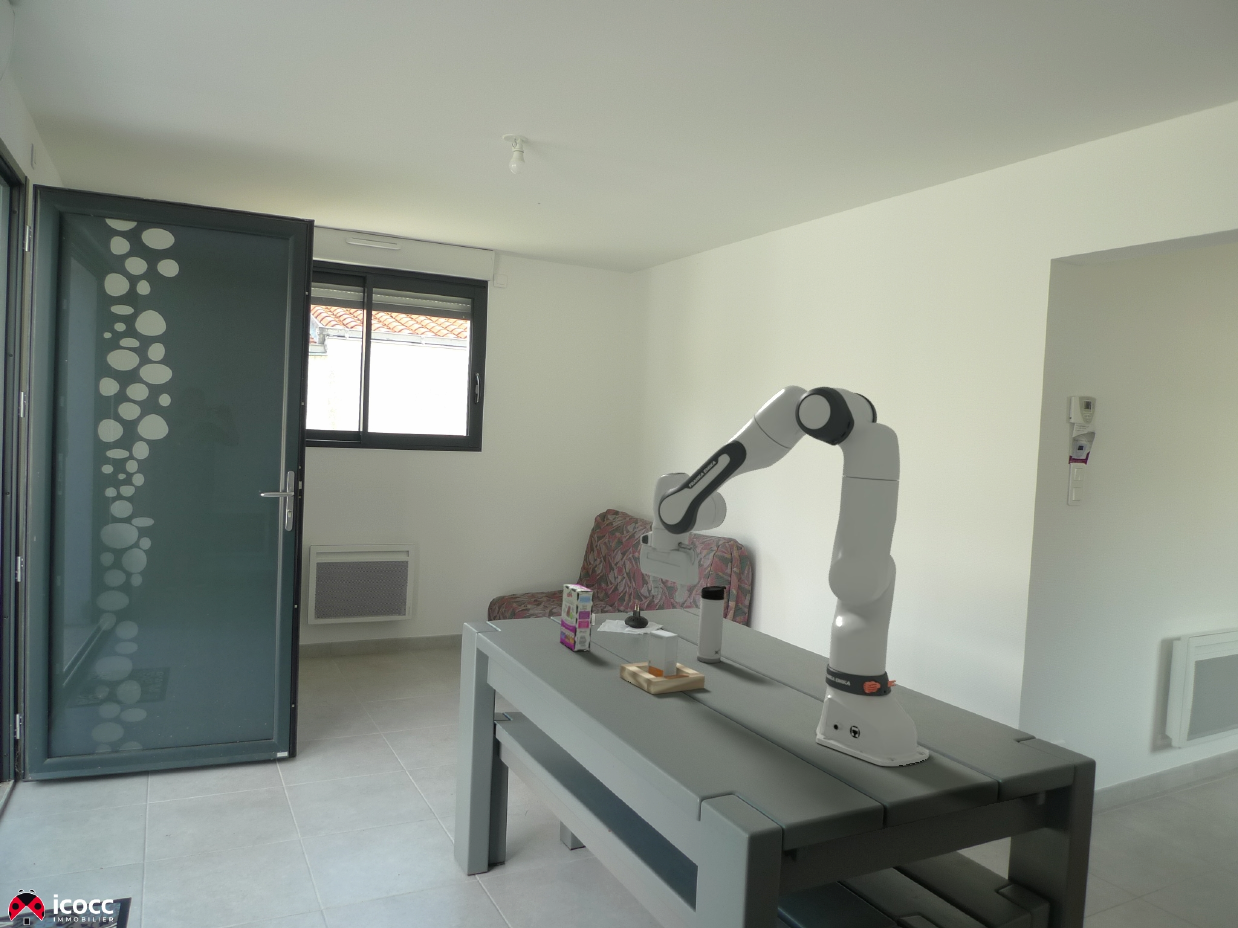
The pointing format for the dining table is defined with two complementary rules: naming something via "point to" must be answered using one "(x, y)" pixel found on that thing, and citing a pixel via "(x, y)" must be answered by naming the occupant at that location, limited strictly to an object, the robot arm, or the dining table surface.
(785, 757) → the dining table surface
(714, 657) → the travel mug
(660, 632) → the skincare box
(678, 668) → the frame
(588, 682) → the dining table surface
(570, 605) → the candy bar box
